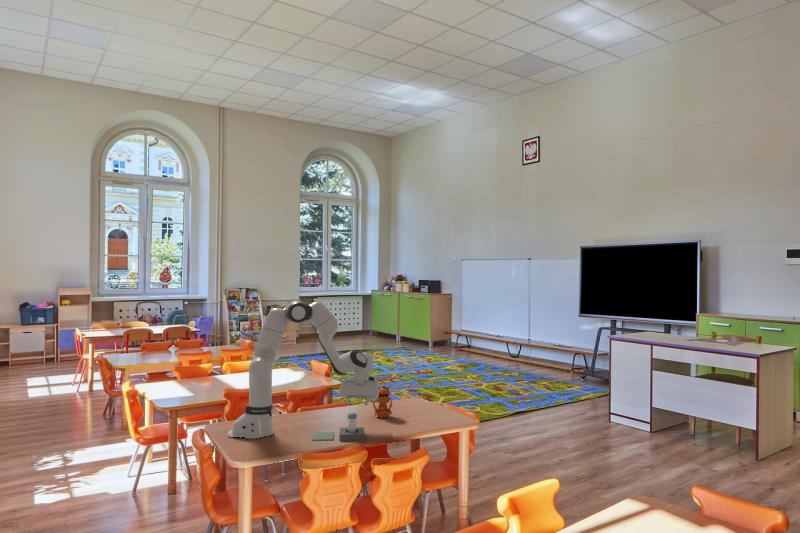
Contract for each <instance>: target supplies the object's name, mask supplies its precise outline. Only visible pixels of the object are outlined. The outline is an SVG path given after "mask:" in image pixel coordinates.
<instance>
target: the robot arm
mask: <svg viewBox="0 0 800 533" xmlns="http://www.w3.org/2000/svg"><path fill="white" fill-rule="evenodd" d="M307 321H309V322H311V323H312V325H313V326H314V328H315V329H316V330H317V333H318V342H319V343H320V347H321V348H322V350H323V351H324V353H325V354H326V357H327V359H328V360H329V362H330V365H331V367H332V370H333V372H334V373H335V374H336V375H339V376H345V375H347V374H348V373H350V372H352V371H353V372H354V375H353V380H344V381H342V382H341V385H340V389H339V395H340V398H345V400H346V402H345V404H346V405H350V403H351V400H350V399H349V398H354V399H366V400H364V406H368V405H369V403H370V402H371V400H374V399H375V400H376V399H377V398H378V396H379V389H378V387H379V381H378V379H377V378H376V377H374V376H371V375H372V373H373V367H374V358H373V356H372V355H371V354H370V353H369V352H361V351H360V350H357V349H351V350H350V351H348V352H346V353H343V354H342V355H341V354H339V353H338V351H337V350H336V347H335V345H334V344H333V338H334V336H335V335H336V333H337V331H338V328H339V323H338V320H337V319H336V317H335V316H334V314H333V313H332V312H331V311H330V309H329V308H328V307H327V306H326V305H325V304H324V303H323V302H321V301H320V300H319V301H318V300H317V301H314V302H311V303H310V304H306V303H305V302H304V301H302V300H300V299H292V300H290V301H289V302H287V303H286V304H285V305H284V307H282V308H281V307H275V308H272V309H271V310H270V311H269V312H268V313H267V315H266V318H265V320H264V323H263V325H262V328H261V331H260V333H259V336H258V339H257V343H256V346H255V349H254V352H253V355H252V358H251V361H250V363H249V365H248V388H249V389H248V390H249V392H248V393H249V394H248V403H247V404H245V406H244V413H242V414H241V415H240V416H239V417H238V418H236V419H235V421H234V422H233V425H232V427H231V429H230V430H229V431H228V432H227V437H229V438H233V437H240V438H239V439H242V438H241V437H245V438H244V439H256V438H257V439H261V438H264V436H265V437H269V436H271V435H274V434H275V430H274V429H275V428H274V424H273V412H274V411H273V409H274V408H273V404H272V403H273V402H272V401H273V400H272V398H273V366H274V364H275V361H276V358H277V355H278V352H279V350H280V346H281V343H282V341H283V337H284V334H285V331H286V327H287V325H288V324H289V323H290V322H292V323H294V324H300V323H304V322H307ZM260 437H261V438H260Z"/></svg>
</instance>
